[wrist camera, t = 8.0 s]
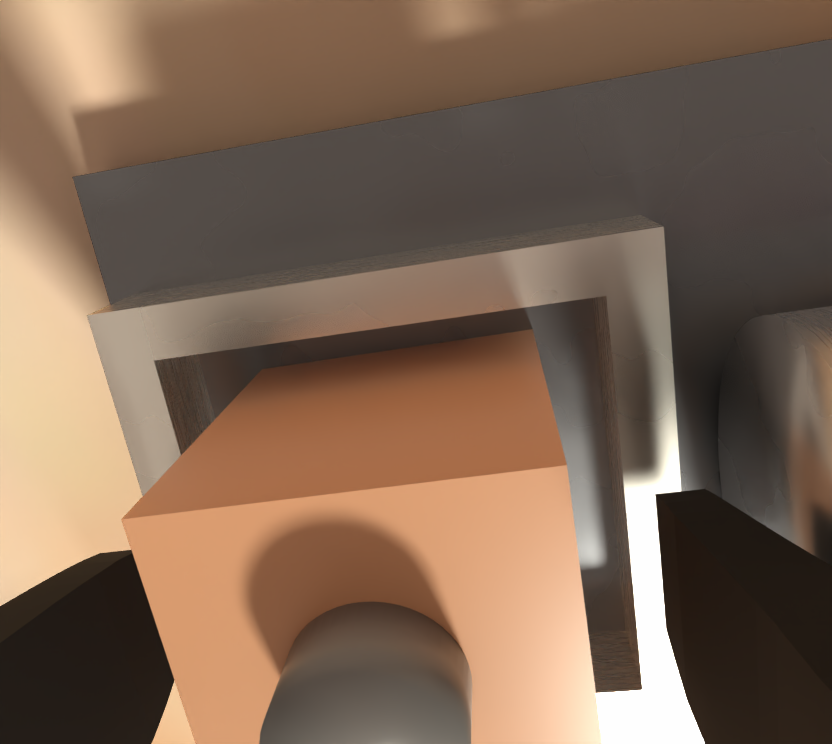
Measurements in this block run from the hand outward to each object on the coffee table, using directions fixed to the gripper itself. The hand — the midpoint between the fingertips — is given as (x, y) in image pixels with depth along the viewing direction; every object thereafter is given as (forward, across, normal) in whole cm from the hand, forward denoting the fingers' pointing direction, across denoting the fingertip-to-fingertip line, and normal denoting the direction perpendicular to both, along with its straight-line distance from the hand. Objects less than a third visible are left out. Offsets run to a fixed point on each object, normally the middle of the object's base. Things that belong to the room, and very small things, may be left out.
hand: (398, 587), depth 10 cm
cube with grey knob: (+3, 0, 0) cm, 3 cm away
